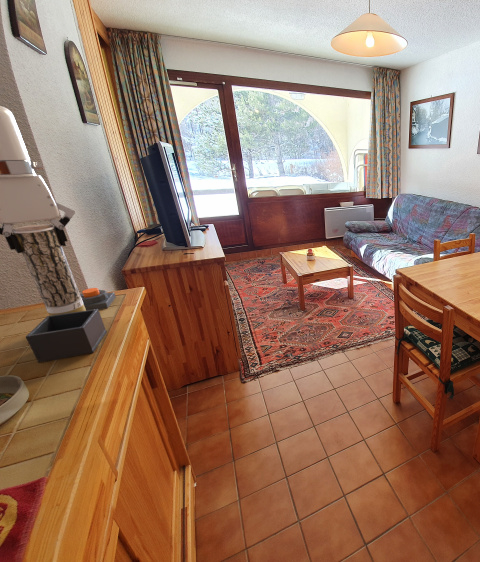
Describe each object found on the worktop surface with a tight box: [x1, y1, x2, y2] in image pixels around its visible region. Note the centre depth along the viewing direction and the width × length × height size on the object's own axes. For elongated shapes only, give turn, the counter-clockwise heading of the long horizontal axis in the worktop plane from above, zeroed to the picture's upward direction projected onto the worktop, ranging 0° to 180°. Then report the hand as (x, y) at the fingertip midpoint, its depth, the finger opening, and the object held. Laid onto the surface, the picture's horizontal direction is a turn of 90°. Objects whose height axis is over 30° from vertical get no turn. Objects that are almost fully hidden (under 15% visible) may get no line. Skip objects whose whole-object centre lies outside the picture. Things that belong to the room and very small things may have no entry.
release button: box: [81, 287, 100, 298], centre depth 91 cm, size 4×4×2 cm
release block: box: [80, 289, 117, 311], centre depth 92 cm, size 8×8×4 cm
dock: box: [25, 309, 107, 364], centre depth 72 cm, size 10×10×7 cm
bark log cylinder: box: [12, 224, 86, 316], centre depth 77 cm, size 7×7×25 cm
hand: (41, 247), depth 74 cm, fingers closed on bark log cylinder, 6 cm apart
